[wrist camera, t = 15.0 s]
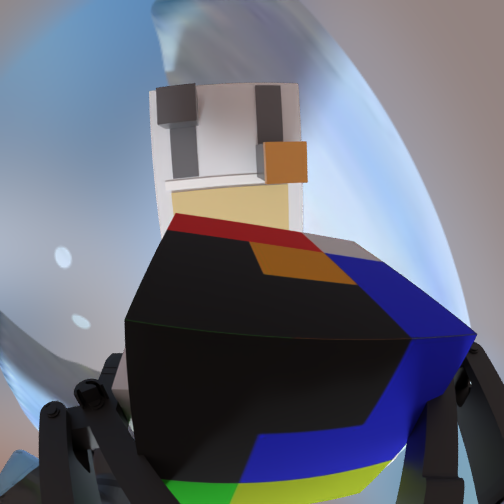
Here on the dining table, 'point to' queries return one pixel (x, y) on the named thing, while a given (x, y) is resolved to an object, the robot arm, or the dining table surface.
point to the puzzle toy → (278, 363)
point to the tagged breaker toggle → (282, 162)
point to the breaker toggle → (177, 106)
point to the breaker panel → (228, 157)
